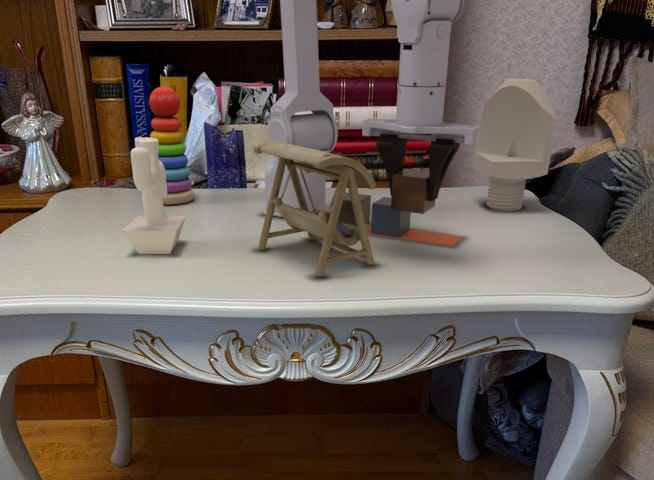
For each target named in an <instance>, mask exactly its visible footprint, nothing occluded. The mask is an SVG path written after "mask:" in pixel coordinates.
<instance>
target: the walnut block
mask: <svg viewBox="0 0 654 480" xmlns="http://www.w3.org/2000/svg"><path fill="white" fill-rule="evenodd" d="M428 183H429V170H423V169H415V168H403V170H402V171H400V172H398V173H396V174H394V175H393V180H392V196H390V198H391V210H397V211H404V212H411V214H420V215H423V214H426V213H427V212H429V211H430V210H432V209H434V207H435V206H436V199H435V200H434V201H428Z"/></svg>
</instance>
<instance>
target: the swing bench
mask: <svg viewBox="0 0 654 480" xmlns="http://www.w3.org/2000/svg"><path fill="white" fill-rule="evenodd" d="M252 149H253V152H254V153H255V154H257V155H260V154H261V155H262V154H265V155H269V156H272V157H275V156H276V157H280V158H279V162H278V166H277V170H276V174H275V178H274V183H273V187H272V191H271V195H270V199H269V203H268V207H267V211H266V210H265V211H266V215H265V214H264V220H263V224H262V229H261V233H260V237H259V243H258V250H260V251H265V250H266V249H267V245H268V240H269V239H271V238H277V237H282V236H287V235H293V234H298V233H303V232H306V233H307V236H308V239H309V240H310V241H314V240H318V241H321V242H322V244H321V249H320V253H319V256H318V259H317V264H316V268H315V273H314V274H315V276H316V277H319V278H321V277H323V276H324V273H325V269H326V266H327V264H329V263H333V262H340V261H343V260H348V259H353V258H356V257H357V258H360V259H362V260H364V261H365V264H366V265H367V266H373V265H374V263H375V259H374V255H373V251H372V245H371V242H370V237H369V234H368V233H367V232H368V231H369V230H370V225H369V224H365V219H364V215H363V210H362V206H361V201H360V197H359V194H360V192H359V188H358V184H359V185H360V186H365V188H366V189H368V190H369V189H370V190H375V189H376V188H377V183H376V180H375V179H374V177H373V174H371V172H370V170H369V169H368V168H367V167H365V166H364V165H363V164H362V163H360V162H359V161H358V160H356V159H353V158H351V157H346V156H342V155H339V154H334V153H331V152H330V153H327V152H324V151H320V150H315V149H310V148H304V147H301V146H296V145H291V144H287V143H283V142H277V141H270V142H269V141H264V142H261V143H258V144H256V145H254V146H253V147H252ZM293 160H295V161H299V162H300V163H296V162H294V161H293ZM286 165H287V168H288V171H289V173H288V177H287V180H286V184H285V187H284V189H283V192H282V195H281V197H280V198H278V195H279V191H280V187H281V183H282V179H283V174H284V170H285V166H286ZM295 167H296V168H299V169H300V172H301V176H302V178H303V181H304V184H305V186H306V189H307V192H308V195H309V198H310V201H311V204H312V207H313V211H312V212H310V211H309V210H308V207H307V203H306V200H305V197H304V193H303V190H302V187H301V184H300V180H299V177H298V173H297V170H296V168H295ZM302 169H304V171H305V172H307V173H311V172H314V173H318V174H321V175H325V176H326V177H329V178H333V179H337V180H338V182H337V185H336V186H335V189H334V193H333V195H332V198H331V201H330V203H329V206H328V207H329V208H328V210H327V212H326V211H320V210H318V209H315V207H314V205H313V201H312V198H311V195H310V192H309V189H308V186H307V184H306V180H305V178H304V175H303V172H302ZM290 177H291V180H292V183H293V187H294V190H295V193H296V196H297V200H298V203H299V206H300V208H294V207H292V206H289V205H287V204H284V203H283V202H282V198H283V196H284V193H285V191H286V188H287V185H288V182H289V178H290ZM347 188H348V193H349V194H350V199H351V202H352V206H353V211H354V215H355V219H356V223H357V226H354V225H350V224H344V223H342V222H340V221H338V217H339V214H340V210H341V206H342V202H343V198H344V195H345V192H346V191H347ZM332 203H333V205H332ZM275 207H276V208H277V209H278V211H279V212H280V214H281V215H282V217H281V218H283V220H284V221H285V222H286V224H287V225H288V226H289V227H290V228H287V229H282V230H277V231H271V232H270V230H271V227H272V223H273V218H274V216H273V215H274V210H275ZM331 207H332V209H331V213H329V210H330V208H331ZM359 241H360V244H361V248H362V249H360V250H359V249H356V248H353V247H351V246H354V245H355V244H357V243H358V242H359ZM331 247H334V248H337V249H339V250H341V251H343V252H345V253H341V254H336V255H335V254H334V255H330V251H331Z"/></svg>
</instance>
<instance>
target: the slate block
mask: <svg viewBox="0 0 654 480" xmlns="http://www.w3.org/2000/svg"><path fill="white" fill-rule="evenodd" d="M411 215H412V212H404V211H397V210H391V197H387V196H383V197H381V198H380V199H378V200H375V201H374V202H372V203H371V218H370V224H371V233H374V234H381V235H387V236H394V237H400V236H401V235H403V234H404V233H405V232H407V231H408V230H410V228H411V217H412V216H411Z"/></svg>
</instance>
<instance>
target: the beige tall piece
mask: <svg viewBox="0 0 654 480" xmlns="http://www.w3.org/2000/svg"><path fill="white" fill-rule="evenodd" d="M556 124H557V117H556V113H555V110H554V107H553V105H552V103H551V101H550V100H549V97H548V96H547V94H546V93H545V91H544V89H543V88H542V87H541V84H540V83H539V81H538V80H537V79H535V78H506V79H505V80H504V81H503V83H502V84H500V85H499V87H498V88H497V89H496V90H495V91H494V93H493V94H491V96H490V97H489V98H488V99H487V100H486V102H485V103H483V105H482V107H481V108H480V111H479V113H478V121H477V126H478V136H477V143H475V146H474V147H475V148H474V149H475V150H474V155H473V156H474V157H473V166H474V168H475V169H476V170H477V172H478V173H479V174H481V175H482V176H485V177H489V180H490V181H488V183H489V185H488V189H487V199H486V206H487V207H488V208H490V209H492V210H495V211H502V212H515V211H519V210H521V209H522V207H523V205H524V204H523V203H524V198H525V197H524V195H525V191H526V189H525V188H526V184H527V180H528V179H530V180H531V179H534V178H535V179H536V178H540V177H543V176H547V175H548V174H549V168H550V161H551V155H552V149H553V143H554V137H555V131H556Z"/></svg>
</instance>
